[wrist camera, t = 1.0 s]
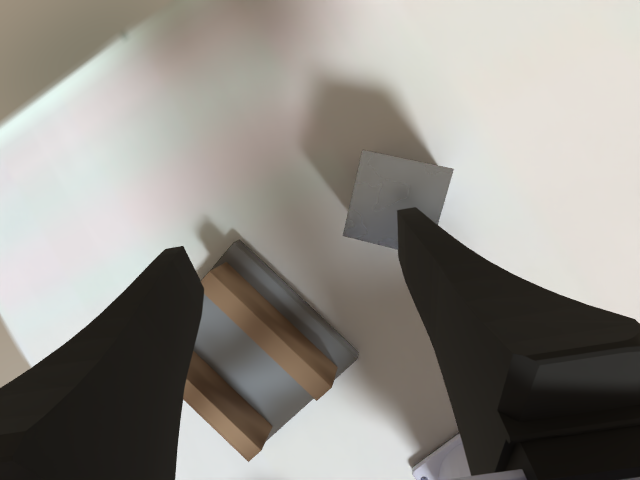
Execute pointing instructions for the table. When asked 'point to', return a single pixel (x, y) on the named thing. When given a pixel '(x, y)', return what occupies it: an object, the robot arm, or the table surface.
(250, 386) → the slot seat
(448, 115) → the table surface
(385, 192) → the steel block
